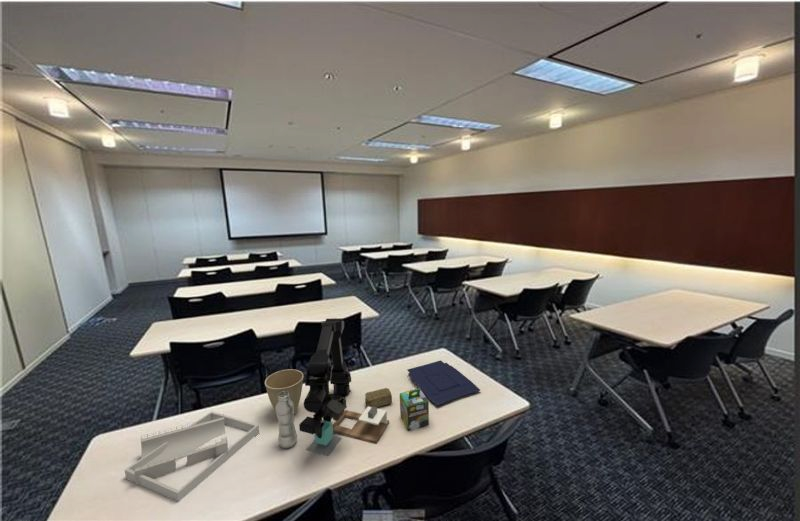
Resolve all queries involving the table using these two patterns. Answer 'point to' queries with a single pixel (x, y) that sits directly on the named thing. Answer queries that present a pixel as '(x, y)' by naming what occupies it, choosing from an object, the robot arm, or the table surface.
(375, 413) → the cover
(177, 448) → the skate ramp
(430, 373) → the navy folded cloth
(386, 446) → the table surface
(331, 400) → the robot arm
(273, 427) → the table surface
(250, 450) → the table surface
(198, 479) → the organizer tray
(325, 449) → the slate mat
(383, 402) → the stone block
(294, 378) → the plant pot
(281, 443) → the plastic bottle
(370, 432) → the brown wooden board
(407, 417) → the chalk box
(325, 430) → the teal block
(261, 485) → the table surface
